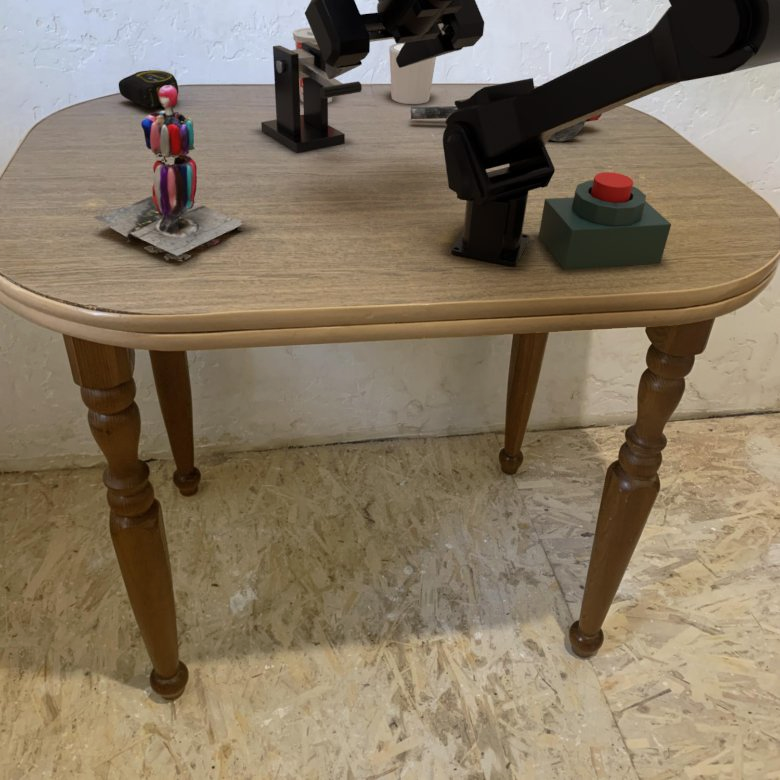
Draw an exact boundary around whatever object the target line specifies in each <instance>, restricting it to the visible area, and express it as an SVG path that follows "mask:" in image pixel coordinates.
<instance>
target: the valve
mask: <svg viewBox="0 0 780 780" xmlns="http://www.w3.org/2000/svg"><path fill="white" fill-rule="evenodd" d="M456 109H458V108H457V107H456V105H455V106H453V105H450V106H446V105H444V106H410V120H433V119H434V120H438V119H447V117H448V116H449V114H450V113H451V112H452V111H454V110H456ZM602 115H603V113H602V114H600V115H597V116H595V117H592V118H590V119H587V120H585V121H582V122H580V123H577V124H575V125H572V126H570V127H567V128H565V129H562V130H560V131H557V132H556V133H554V134H553V135H552V136H551V137H550V139H549V140H550V141H554V142H565V141H569V140H571V139H573V138H574V137H576V136H577V135H578V134H579V133H580V132H581V131H582V129H583V128H584V126H585V124H586V122H587V123H588V122H595V121H599V119H600V118H601V116H602Z"/></svg>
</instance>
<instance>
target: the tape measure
mask: <svg viewBox="0 0 780 780" xmlns="http://www.w3.org/2000/svg"><path fill="white" fill-rule="evenodd" d="M166 85H172V86H174V87H175V89H176V90H177V95H178V96H179V84H178V81H177V79H176V77H175V76H174V74H173V73H171V72H168V71H166V70H165V71H164V70H156V69H155V70H154V69H151V70H149V69H148V70H142V71H137V72H135V73H132V74H131V75H128V76H126V77H123V78H122V79H121V80H119V82H118V90H119V93H120V95H121V96H122V97H123V98H125V99H126V100H128V101H130V102H133V103H135V104H138V105H140V106H142V107H146V108H148V109H154V108H156V107H158V106H162V104H161V101H160V98H159V90H160V89H161V88H162V87H163V86H166Z"/></svg>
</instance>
